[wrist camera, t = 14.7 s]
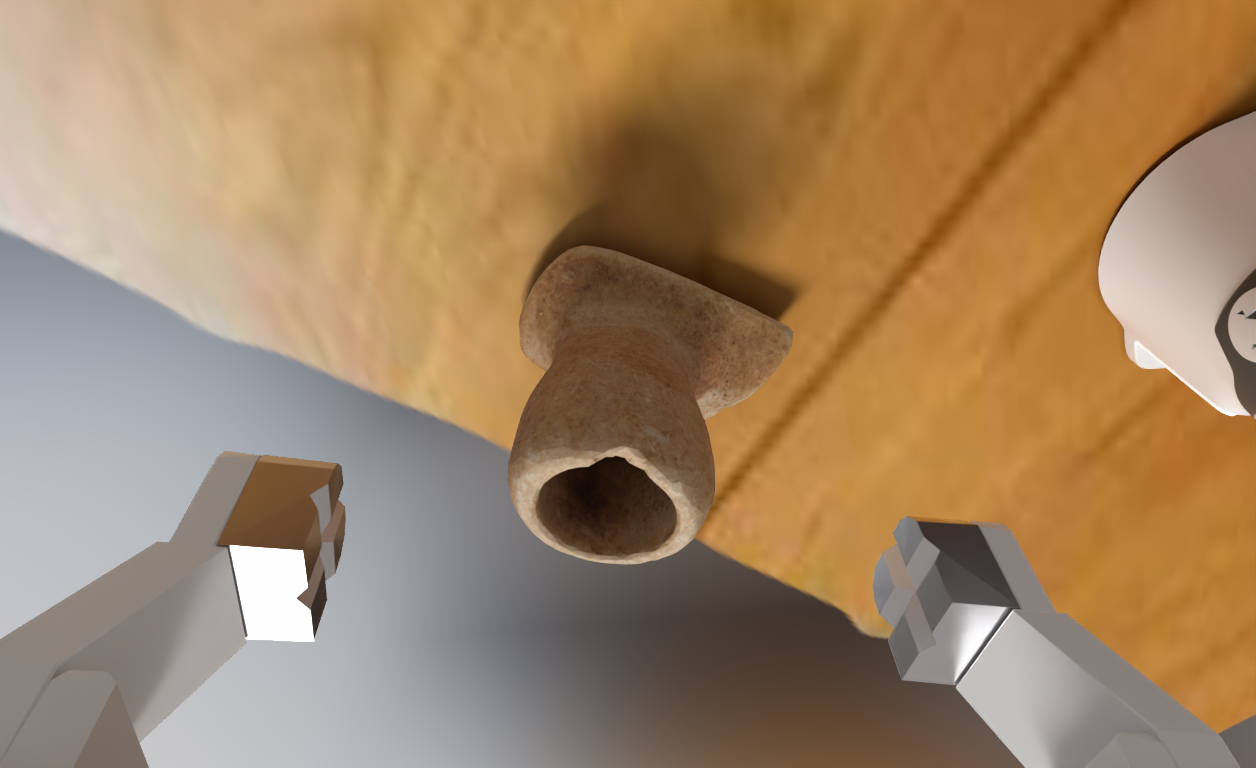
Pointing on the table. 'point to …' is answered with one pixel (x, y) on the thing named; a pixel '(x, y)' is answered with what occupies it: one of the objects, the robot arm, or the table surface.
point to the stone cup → (629, 402)
